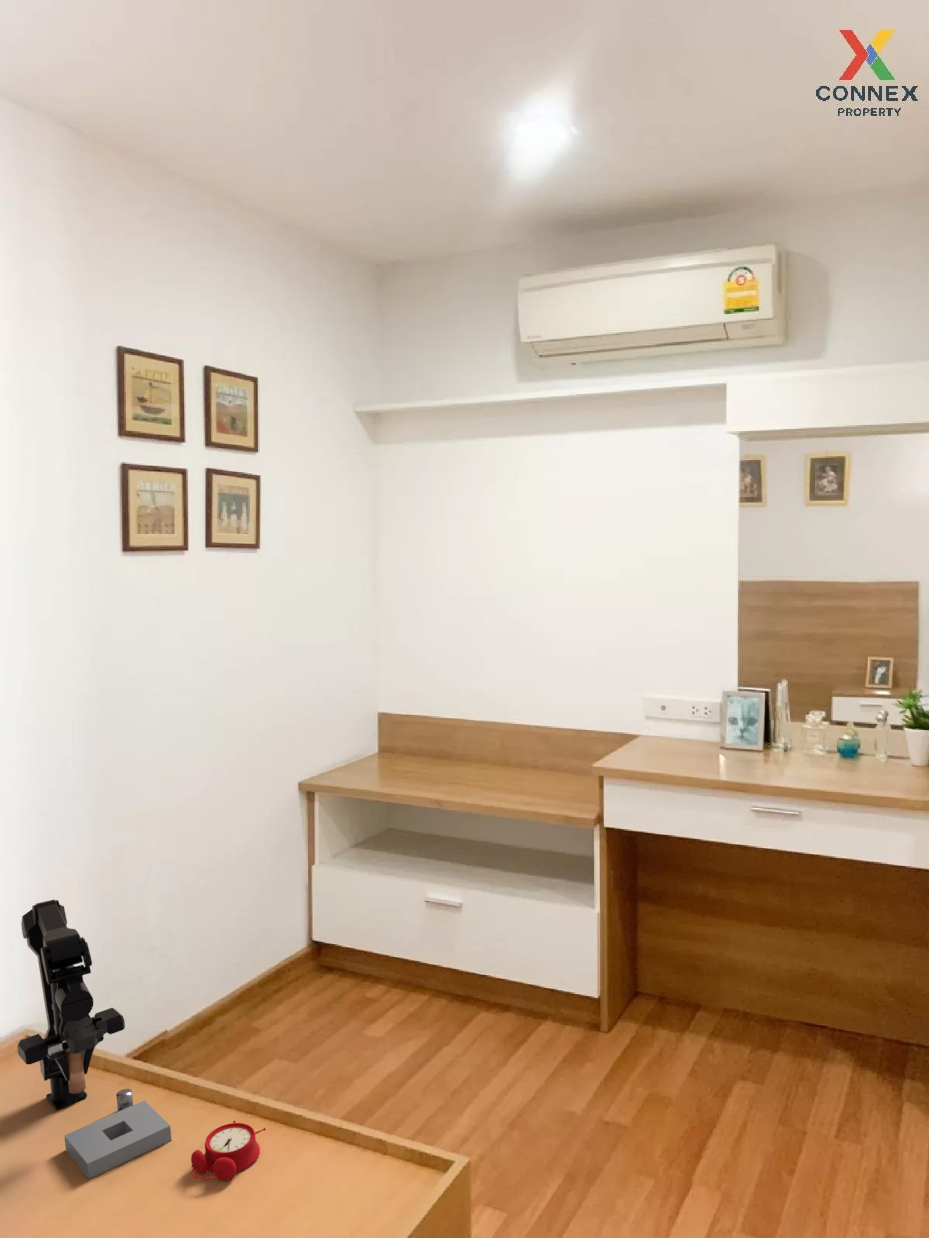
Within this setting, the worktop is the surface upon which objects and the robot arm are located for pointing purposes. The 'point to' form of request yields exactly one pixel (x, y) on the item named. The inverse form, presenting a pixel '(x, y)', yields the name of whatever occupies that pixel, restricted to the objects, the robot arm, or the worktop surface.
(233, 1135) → the alarm clock
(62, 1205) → the worktop surface
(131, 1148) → the block
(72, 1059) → the long dowel
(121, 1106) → the short stub
